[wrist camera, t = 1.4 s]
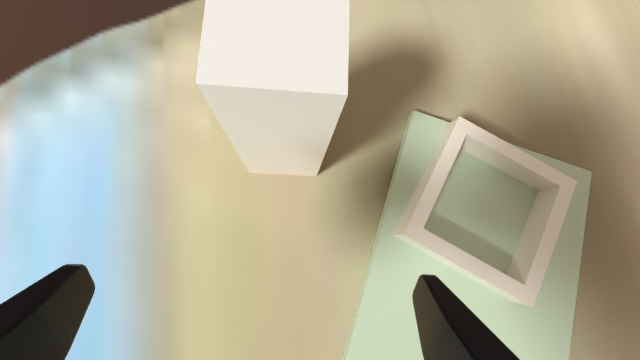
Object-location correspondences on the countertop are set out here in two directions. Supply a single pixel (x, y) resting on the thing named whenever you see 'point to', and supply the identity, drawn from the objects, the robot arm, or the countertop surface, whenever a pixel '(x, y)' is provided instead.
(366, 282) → the board
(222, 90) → the plug
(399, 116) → the countertop surface
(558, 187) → the white square frame
